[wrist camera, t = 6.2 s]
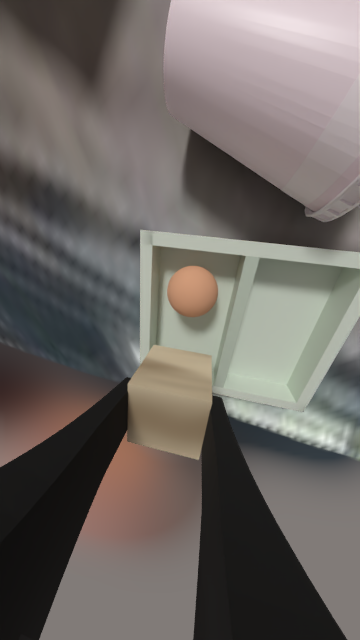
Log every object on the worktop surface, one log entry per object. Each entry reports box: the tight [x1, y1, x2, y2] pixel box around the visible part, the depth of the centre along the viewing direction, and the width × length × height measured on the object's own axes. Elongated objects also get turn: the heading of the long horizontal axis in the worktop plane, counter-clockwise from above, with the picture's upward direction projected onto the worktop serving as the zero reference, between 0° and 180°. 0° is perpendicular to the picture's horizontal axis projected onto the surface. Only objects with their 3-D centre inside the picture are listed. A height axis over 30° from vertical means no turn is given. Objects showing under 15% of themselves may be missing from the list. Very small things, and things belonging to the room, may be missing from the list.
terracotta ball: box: [167, 266, 218, 317], centre depth 12 cm, size 4×4×4 cm
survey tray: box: [140, 230, 360, 412], centre depth 13 cm, size 14×12×3 cm
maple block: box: [127, 345, 212, 460], centre depth 10 cm, size 4×4×4 cm
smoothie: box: [164, 0, 360, 222], centre depth 7 cm, size 6×6×14 cm
